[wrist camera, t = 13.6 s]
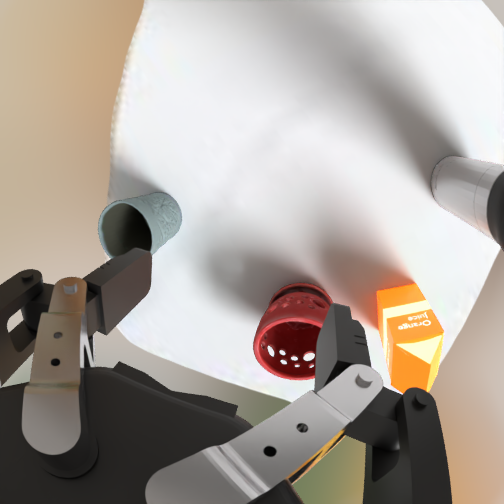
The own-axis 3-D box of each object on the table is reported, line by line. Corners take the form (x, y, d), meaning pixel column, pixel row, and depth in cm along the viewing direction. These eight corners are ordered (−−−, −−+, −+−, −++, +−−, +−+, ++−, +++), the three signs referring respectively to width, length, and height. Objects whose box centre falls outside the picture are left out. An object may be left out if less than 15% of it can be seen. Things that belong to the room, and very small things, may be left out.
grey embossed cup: (134, 230, 52) (95, 252, 41) (143, 179, 48) (101, 192, 37) (180, 249, 51) (146, 278, 40) (193, 197, 47) (158, 214, 36)
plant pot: (253, 289, 51) (237, 328, 40) (325, 267, 47) (328, 305, 36) (280, 344, 54) (271, 389, 44) (345, 328, 50) (350, 372, 39)
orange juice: (416, 282, 44) (458, 356, 26) (415, 323, 47) (446, 401, 29) (375, 290, 47) (400, 370, 28) (377, 331, 49) (395, 413, 31)
